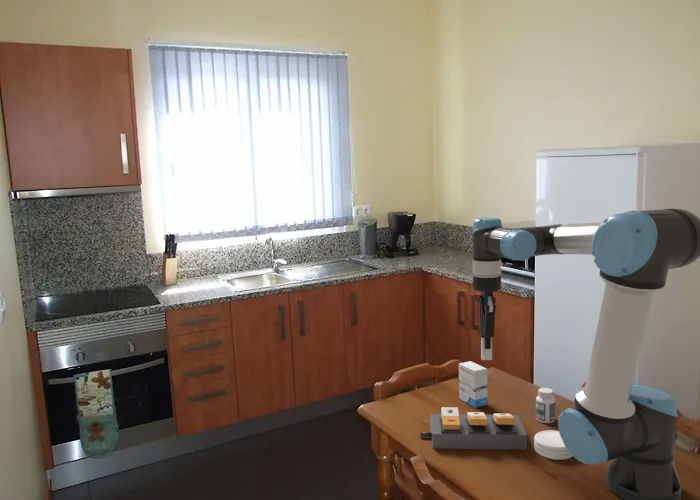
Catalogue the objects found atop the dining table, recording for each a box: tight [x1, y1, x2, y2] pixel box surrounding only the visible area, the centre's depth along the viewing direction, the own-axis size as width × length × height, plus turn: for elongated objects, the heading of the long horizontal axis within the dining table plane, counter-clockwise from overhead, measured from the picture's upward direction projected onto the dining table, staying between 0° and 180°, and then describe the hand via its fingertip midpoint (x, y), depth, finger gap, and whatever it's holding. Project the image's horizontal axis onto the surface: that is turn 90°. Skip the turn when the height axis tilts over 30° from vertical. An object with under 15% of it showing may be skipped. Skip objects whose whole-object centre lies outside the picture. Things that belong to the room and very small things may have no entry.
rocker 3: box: [492, 413, 515, 425], centre depth 154 cm, size 7×4×2 cm, turn 175°
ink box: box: [458, 360, 488, 409], centre depth 179 cm, size 9×5×12 cm, turn 25°
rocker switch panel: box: [419, 413, 528, 451], centre depth 156 cm, size 12×27×5 cm, turn 85°
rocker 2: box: [466, 411, 488, 425], centre depth 154 cm, size 7×4×2 cm, turn 175°
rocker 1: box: [440, 406, 460, 430], centre depth 155 cm, size 7×4×2 cm, turn 175°
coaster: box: [533, 429, 574, 461], centre depth 149 cm, size 10×10×4 cm
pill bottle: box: [535, 387, 556, 424], centre depth 166 cm, size 5×5×9 cm
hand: (486, 359), depth 160 cm, fingers closed
